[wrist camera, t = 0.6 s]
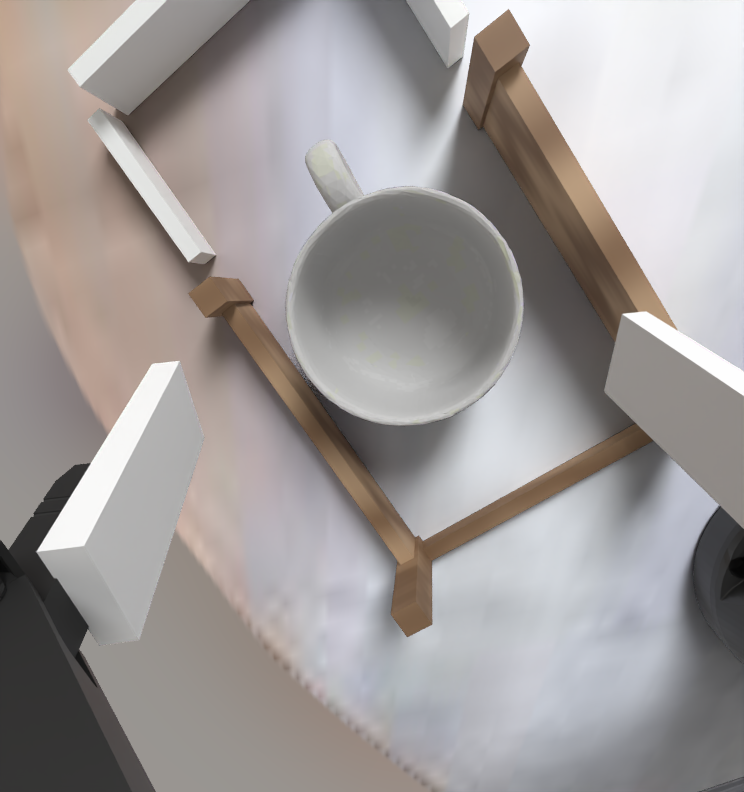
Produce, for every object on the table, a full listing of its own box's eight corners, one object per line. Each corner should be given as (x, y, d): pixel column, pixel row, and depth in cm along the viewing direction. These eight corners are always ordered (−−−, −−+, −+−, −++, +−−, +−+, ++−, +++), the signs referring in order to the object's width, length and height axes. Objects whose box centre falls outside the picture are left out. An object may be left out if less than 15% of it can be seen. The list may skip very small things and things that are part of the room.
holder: (463, 56, 25) (469, 12, 22) (204, 264, 30) (170, 259, 26) (353, -126, 24) (338, -206, 20) (100, 117, 28) (48, 89, 25)
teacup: (518, 367, 29) (551, 393, 21) (351, 414, 30) (324, 454, 23) (456, 131, 26) (468, 62, 18) (280, 198, 28) (223, 160, 20)
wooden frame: (687, 415, 28) (769, 453, 21) (412, 564, 32) (407, 637, 25) (487, 85, 26) (508, 8, 19) (219, 293, 30) (157, 293, 23)
